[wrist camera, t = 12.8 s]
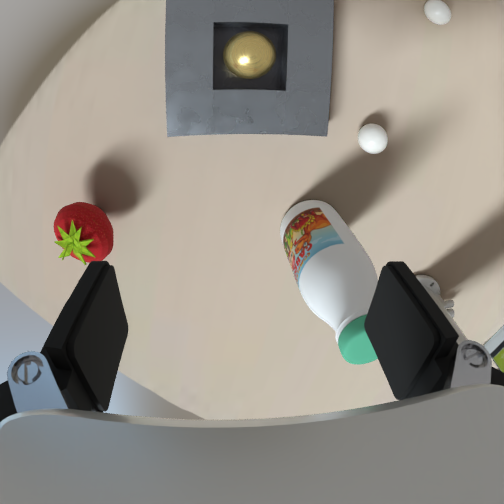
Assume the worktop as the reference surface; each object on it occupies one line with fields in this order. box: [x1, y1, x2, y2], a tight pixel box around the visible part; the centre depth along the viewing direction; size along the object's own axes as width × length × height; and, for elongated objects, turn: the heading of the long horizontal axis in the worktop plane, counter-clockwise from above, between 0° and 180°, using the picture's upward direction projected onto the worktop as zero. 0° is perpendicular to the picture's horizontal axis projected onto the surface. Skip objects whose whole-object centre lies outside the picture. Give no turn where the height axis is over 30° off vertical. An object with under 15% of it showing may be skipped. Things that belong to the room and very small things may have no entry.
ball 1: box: [358, 124, 388, 154], centre depth 32 cm, size 4×4×4 cm
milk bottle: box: [280, 200, 378, 364], centre depth 30 cm, size 8×8×20 cm
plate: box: [165, 0, 334, 137], centre depth 26 cm, size 16×16×3 cm
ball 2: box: [424, 0, 451, 25], centre depth 23 cm, size 4×4×4 cm
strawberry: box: [54, 202, 113, 265], centre depth 31 cm, size 6×8×10 cm
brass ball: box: [223, 31, 276, 79], centre depth 25 cm, size 5×5×5 cm
